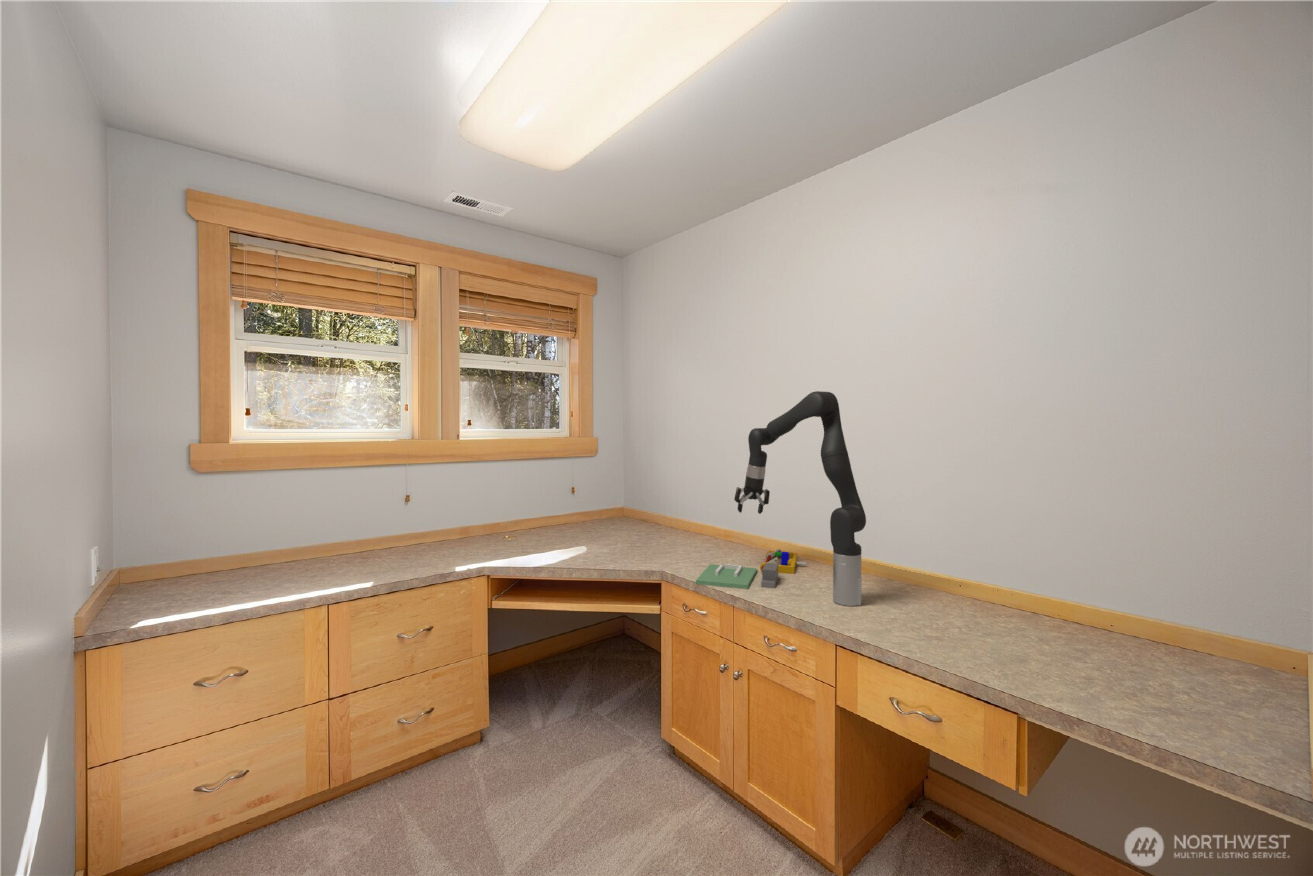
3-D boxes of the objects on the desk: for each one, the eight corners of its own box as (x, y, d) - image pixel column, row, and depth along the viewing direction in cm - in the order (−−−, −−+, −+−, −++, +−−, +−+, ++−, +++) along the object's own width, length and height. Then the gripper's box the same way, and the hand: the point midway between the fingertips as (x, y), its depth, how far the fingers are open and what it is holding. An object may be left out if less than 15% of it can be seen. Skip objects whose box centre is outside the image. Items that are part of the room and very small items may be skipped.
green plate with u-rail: (756, 571, 221) (757, 564, 221) (747, 589, 199) (747, 581, 199) (710, 567, 228) (710, 560, 228) (695, 583, 205) (695, 576, 205)
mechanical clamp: (758, 560, 218) (766, 544, 247) (758, 575, 218) (766, 557, 247) (804, 563, 213) (807, 546, 241) (804, 579, 213) (807, 560, 241)
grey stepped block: (765, 577, 213) (765, 562, 213) (778, 578, 212) (778, 564, 212) (761, 587, 201) (761, 571, 201) (774, 588, 199) (774, 572, 199)
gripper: (741, 476, 214) (736, 514, 217) (775, 479, 217) (768, 516, 220) (736, 471, 221) (730, 508, 225) (768, 474, 224) (762, 510, 227)
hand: (749, 512), depth 222 cm, fingers open, 8 cm apart
